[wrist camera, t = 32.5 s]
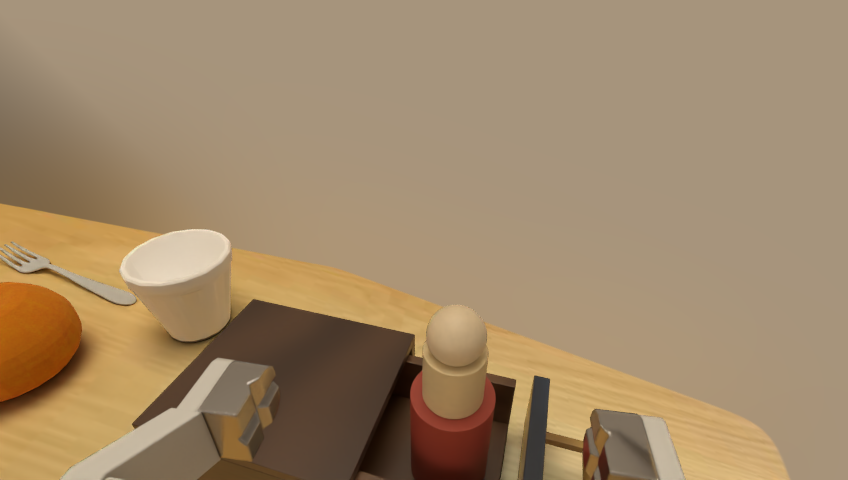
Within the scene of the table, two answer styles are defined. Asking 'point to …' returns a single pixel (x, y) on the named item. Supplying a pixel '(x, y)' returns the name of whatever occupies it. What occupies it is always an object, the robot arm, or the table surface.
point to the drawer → (391, 444)
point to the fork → (68, 276)
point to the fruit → (34, 336)
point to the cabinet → (304, 389)
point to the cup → (183, 281)
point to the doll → (452, 399)
